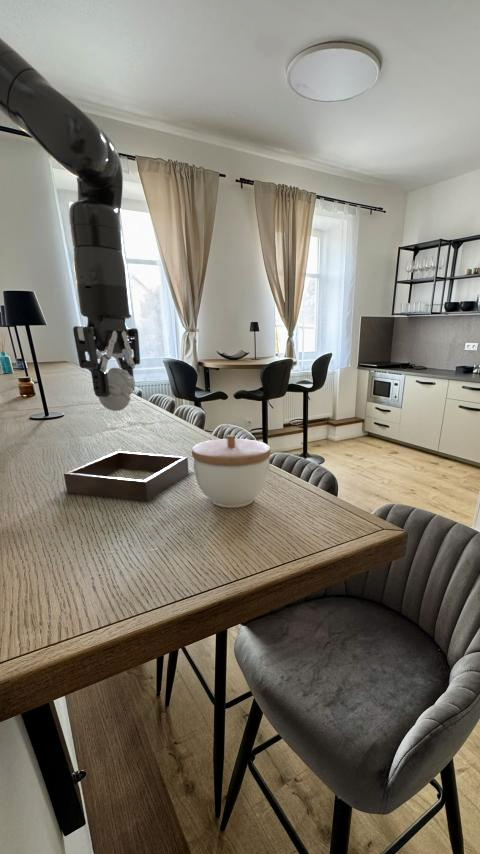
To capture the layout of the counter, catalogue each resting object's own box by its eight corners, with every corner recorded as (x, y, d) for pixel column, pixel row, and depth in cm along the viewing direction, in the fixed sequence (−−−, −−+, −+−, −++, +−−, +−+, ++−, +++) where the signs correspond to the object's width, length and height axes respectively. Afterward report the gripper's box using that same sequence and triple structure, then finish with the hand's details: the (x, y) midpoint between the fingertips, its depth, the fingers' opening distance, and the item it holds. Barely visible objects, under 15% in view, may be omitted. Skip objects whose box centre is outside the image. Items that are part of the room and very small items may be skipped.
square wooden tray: (66, 492, 71) (63, 473, 70) (119, 467, 86) (117, 451, 84) (147, 501, 68) (145, 482, 67) (188, 474, 82) (187, 457, 81)
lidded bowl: (180, 508, 66) (175, 440, 62) (215, 483, 77) (212, 425, 73) (254, 519, 62) (254, 448, 58) (279, 491, 74) (280, 430, 70)
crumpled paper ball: (145, 409, 72) (141, 368, 70) (111, 415, 67) (106, 370, 64) (122, 406, 75) (118, 366, 73) (88, 410, 70) (82, 367, 67)
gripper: (109, 289, 71) (120, 387, 77) (48, 278, 58) (67, 397, 64) (148, 289, 70) (157, 390, 76) (94, 278, 57) (110, 400, 63)
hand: (115, 393), depth 70 cm, fingers closed on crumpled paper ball, 7 cm apart
